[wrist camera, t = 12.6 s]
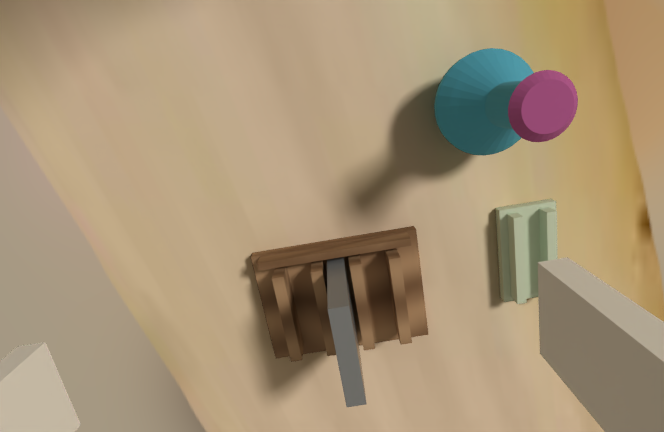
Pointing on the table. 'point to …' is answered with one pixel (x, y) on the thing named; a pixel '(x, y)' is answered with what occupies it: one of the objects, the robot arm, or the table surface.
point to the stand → (524, 246)
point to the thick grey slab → (344, 332)
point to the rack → (364, 284)
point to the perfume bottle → (501, 102)
